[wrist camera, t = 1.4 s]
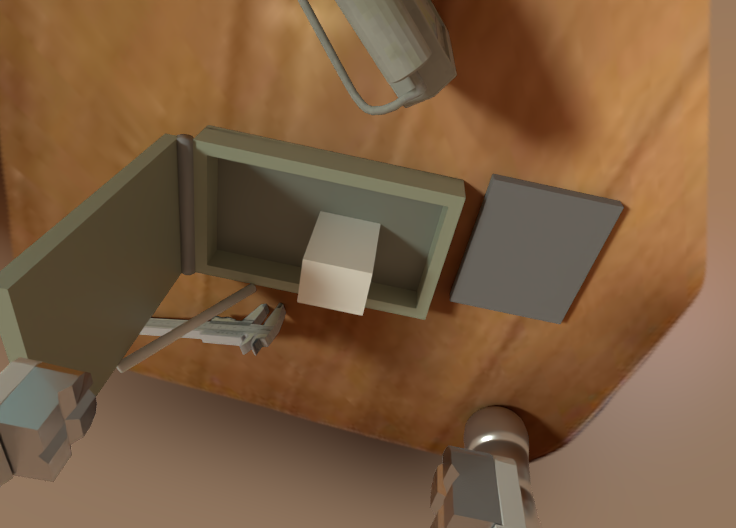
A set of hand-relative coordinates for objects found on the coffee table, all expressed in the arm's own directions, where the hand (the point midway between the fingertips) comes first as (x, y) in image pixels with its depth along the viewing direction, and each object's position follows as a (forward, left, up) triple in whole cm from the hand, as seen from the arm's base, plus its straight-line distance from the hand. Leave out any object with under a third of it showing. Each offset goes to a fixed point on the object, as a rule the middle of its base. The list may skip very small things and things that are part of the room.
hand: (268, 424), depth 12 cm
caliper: (+26, -14, -30) cm, 42 cm away
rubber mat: (+11, +15, -29) cm, 35 cm away
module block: (+13, 0, -29) cm, 32 cm away
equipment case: (+12, -3, -29) cm, 32 cm away
